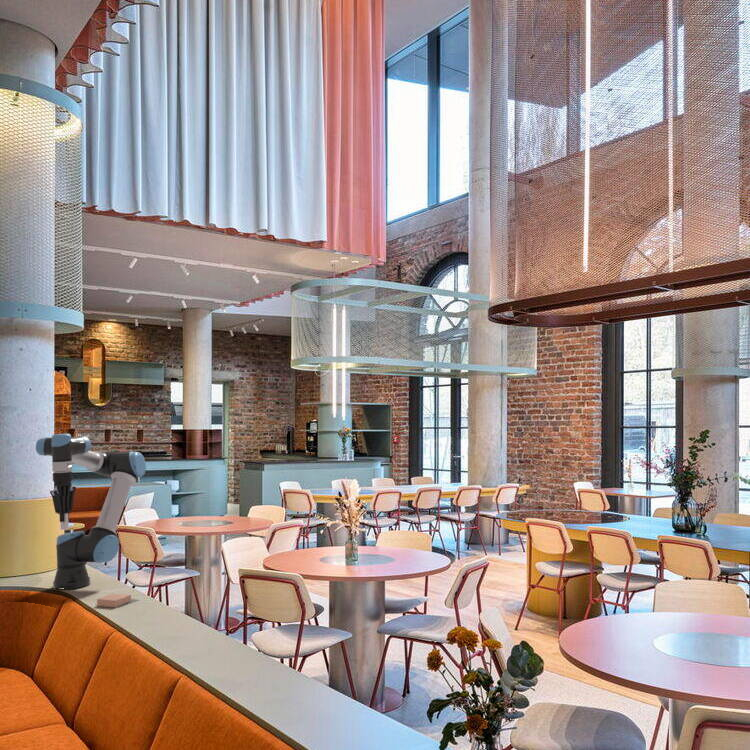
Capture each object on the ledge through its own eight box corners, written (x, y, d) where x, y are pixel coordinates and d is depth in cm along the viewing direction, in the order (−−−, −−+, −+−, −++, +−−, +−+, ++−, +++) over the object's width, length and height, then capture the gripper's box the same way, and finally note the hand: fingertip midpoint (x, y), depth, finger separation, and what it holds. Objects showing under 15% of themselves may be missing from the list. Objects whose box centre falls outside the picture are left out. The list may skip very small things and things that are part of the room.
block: (112, 593, 316) (96, 599, 308) (131, 594, 313) (115, 600, 304) (113, 600, 316) (97, 606, 308) (131, 601, 313) (115, 607, 304)
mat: (115, 599, 320) (115, 597, 320) (140, 601, 315) (139, 599, 315) (94, 607, 309) (94, 605, 309) (119, 609, 304) (119, 607, 304)
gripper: (59, 473, 317) (61, 532, 317) (80, 469, 329) (82, 526, 329) (43, 473, 319) (45, 532, 319) (65, 469, 332) (67, 526, 331)
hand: (64, 529), depth 324 cm, fingers closed
